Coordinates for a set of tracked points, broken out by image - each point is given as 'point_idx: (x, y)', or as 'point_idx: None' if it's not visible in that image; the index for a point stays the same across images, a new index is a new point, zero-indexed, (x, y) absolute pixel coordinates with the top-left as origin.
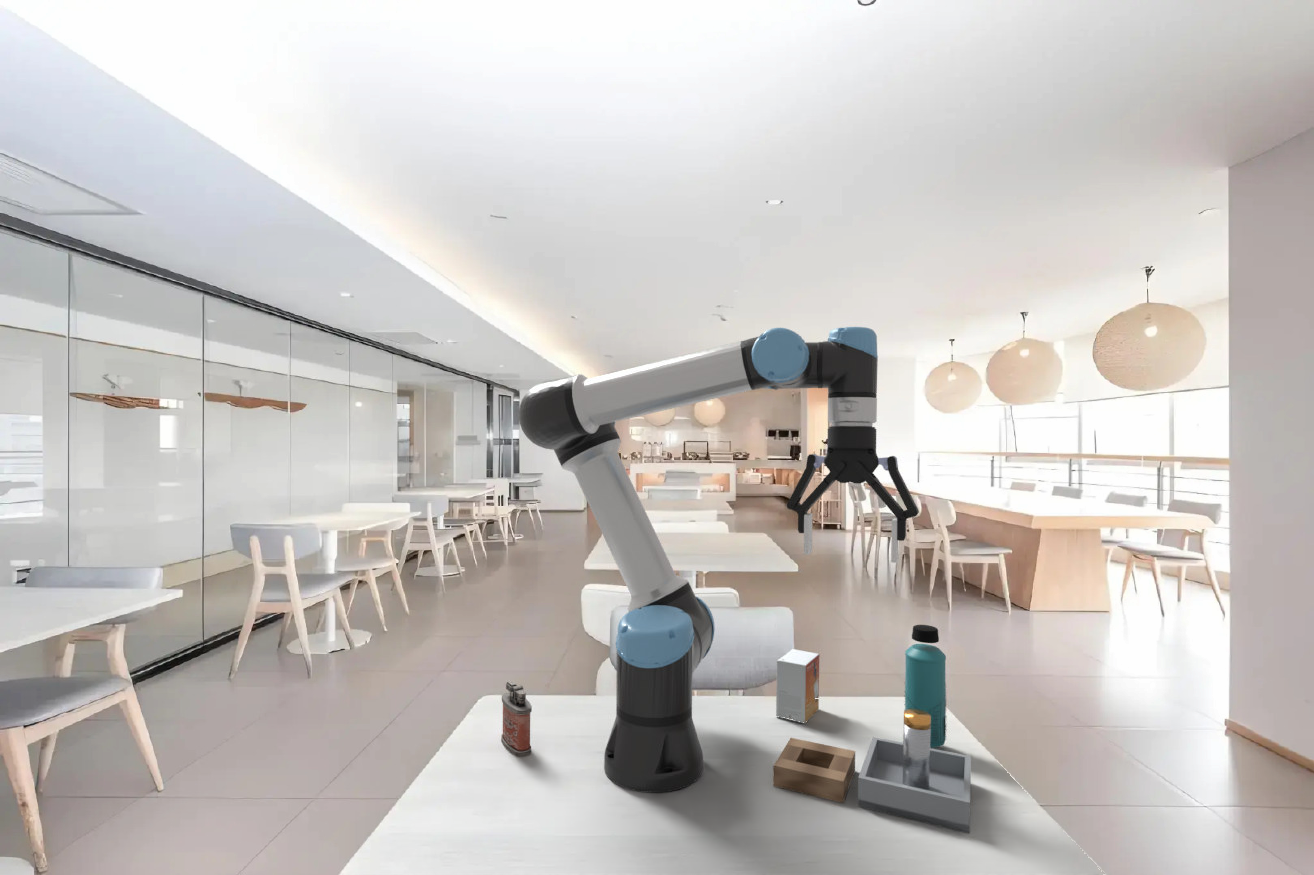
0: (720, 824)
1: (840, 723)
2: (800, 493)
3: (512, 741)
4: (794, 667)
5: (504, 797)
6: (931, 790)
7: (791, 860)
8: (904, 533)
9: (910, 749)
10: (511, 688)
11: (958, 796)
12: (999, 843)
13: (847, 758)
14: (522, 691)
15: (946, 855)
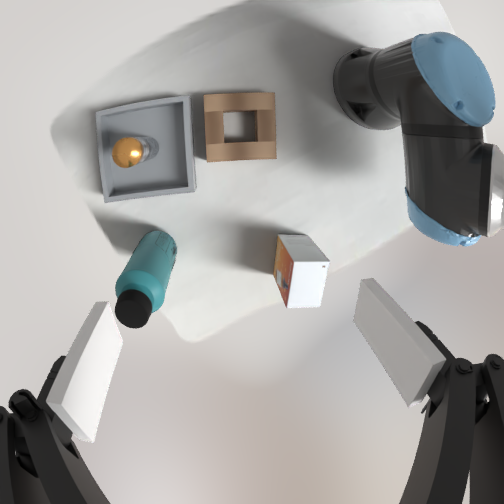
0: (289, 28)
1: (245, 255)
2: (502, 414)
3: None
4: (306, 258)
5: (423, 31)
6: None
7: (224, 11)
8: (51, 373)
9: (140, 137)
10: None
11: None
12: (87, 115)
13: (210, 142)
14: None
15: (119, 74)
